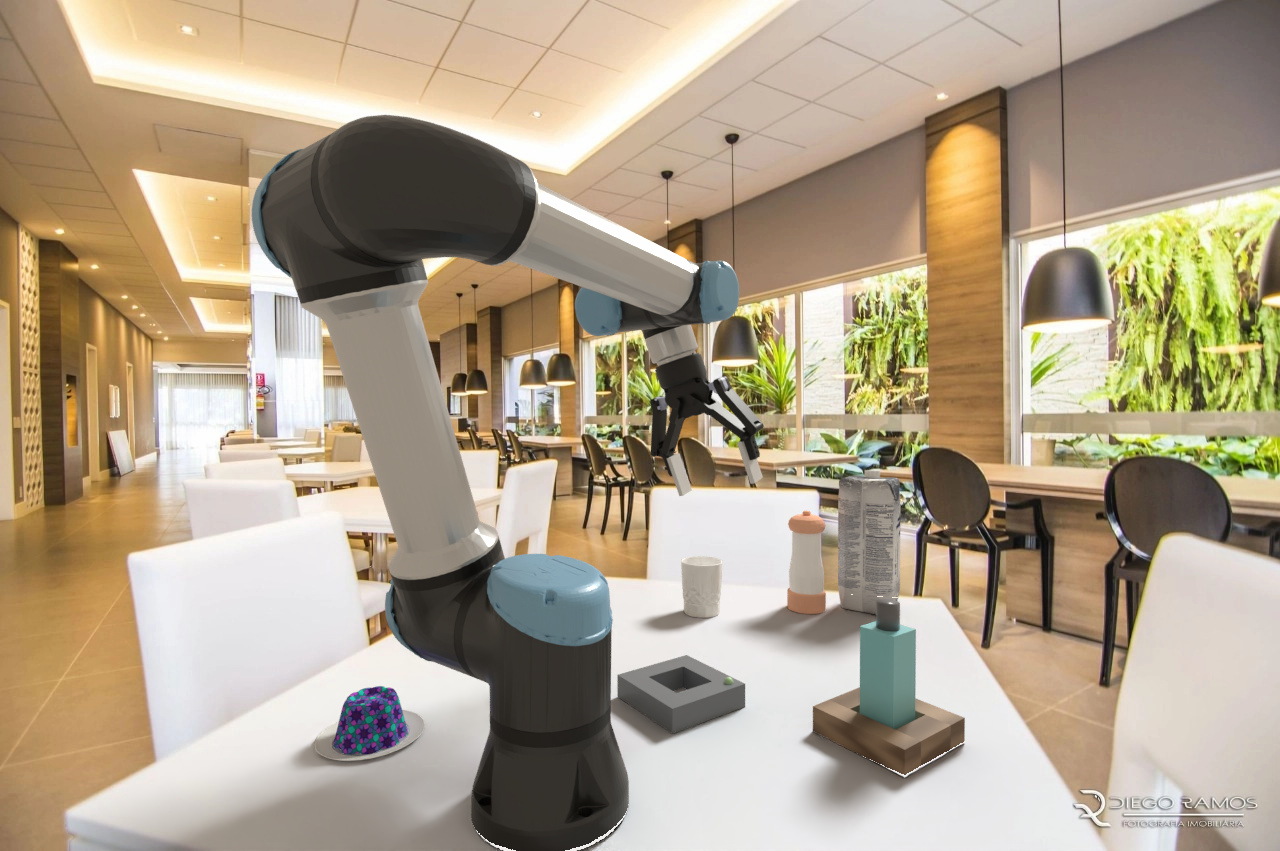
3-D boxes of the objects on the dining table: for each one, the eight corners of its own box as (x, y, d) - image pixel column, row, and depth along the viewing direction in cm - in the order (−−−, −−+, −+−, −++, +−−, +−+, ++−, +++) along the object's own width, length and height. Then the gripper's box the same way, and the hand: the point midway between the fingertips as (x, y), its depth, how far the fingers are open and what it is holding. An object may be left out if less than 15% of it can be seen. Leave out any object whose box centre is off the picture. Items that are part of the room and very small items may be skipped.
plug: (915, 739, 74) (916, 603, 73) (893, 751, 71) (893, 610, 71) (881, 724, 77) (882, 594, 77) (859, 735, 75) (860, 600, 74)
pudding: (356, 711, 81) (356, 671, 81) (442, 718, 79) (442, 677, 79) (290, 762, 70) (289, 715, 69) (389, 772, 68) (389, 723, 67)
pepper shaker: (830, 614, 119) (830, 513, 119) (791, 614, 120) (792, 513, 119) (820, 602, 127) (820, 508, 126) (783, 602, 127) (784, 508, 127)
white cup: (721, 606, 124) (721, 556, 124) (723, 619, 116) (723, 566, 116) (681, 605, 125) (681, 555, 125) (680, 618, 117) (680, 565, 117)
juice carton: (889, 619, 116) (890, 473, 116) (834, 609, 123) (834, 470, 122) (902, 607, 123) (903, 470, 123) (849, 598, 130) (850, 467, 129)
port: (745, 706, 82) (745, 678, 82) (672, 733, 75) (672, 702, 75) (686, 675, 92) (686, 650, 92) (617, 696, 85) (617, 669, 85)
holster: (964, 743, 73) (964, 717, 73) (904, 778, 66) (904, 749, 66) (873, 704, 82) (873, 681, 82) (812, 731, 75) (812, 706, 75)
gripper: (756, 330, 92) (800, 466, 93) (632, 374, 108) (671, 490, 110) (731, 338, 86) (779, 483, 88) (604, 383, 102) (646, 505, 104)
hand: (719, 487), depth 99 cm, fingers open, 13 cm apart
